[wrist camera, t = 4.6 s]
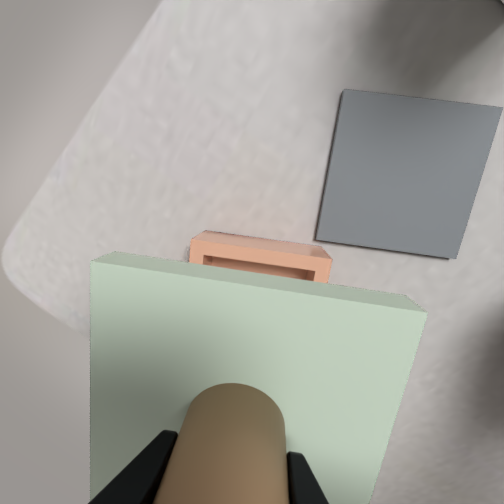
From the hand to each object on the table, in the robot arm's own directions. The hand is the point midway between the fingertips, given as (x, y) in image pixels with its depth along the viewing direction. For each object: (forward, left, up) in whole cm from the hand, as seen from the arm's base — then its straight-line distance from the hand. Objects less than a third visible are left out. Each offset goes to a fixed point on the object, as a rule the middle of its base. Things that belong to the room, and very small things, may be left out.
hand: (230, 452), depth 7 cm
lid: (0, 0, -2) cm, 2 cm away
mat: (-8, -9, -13) cm, 17 cm away
